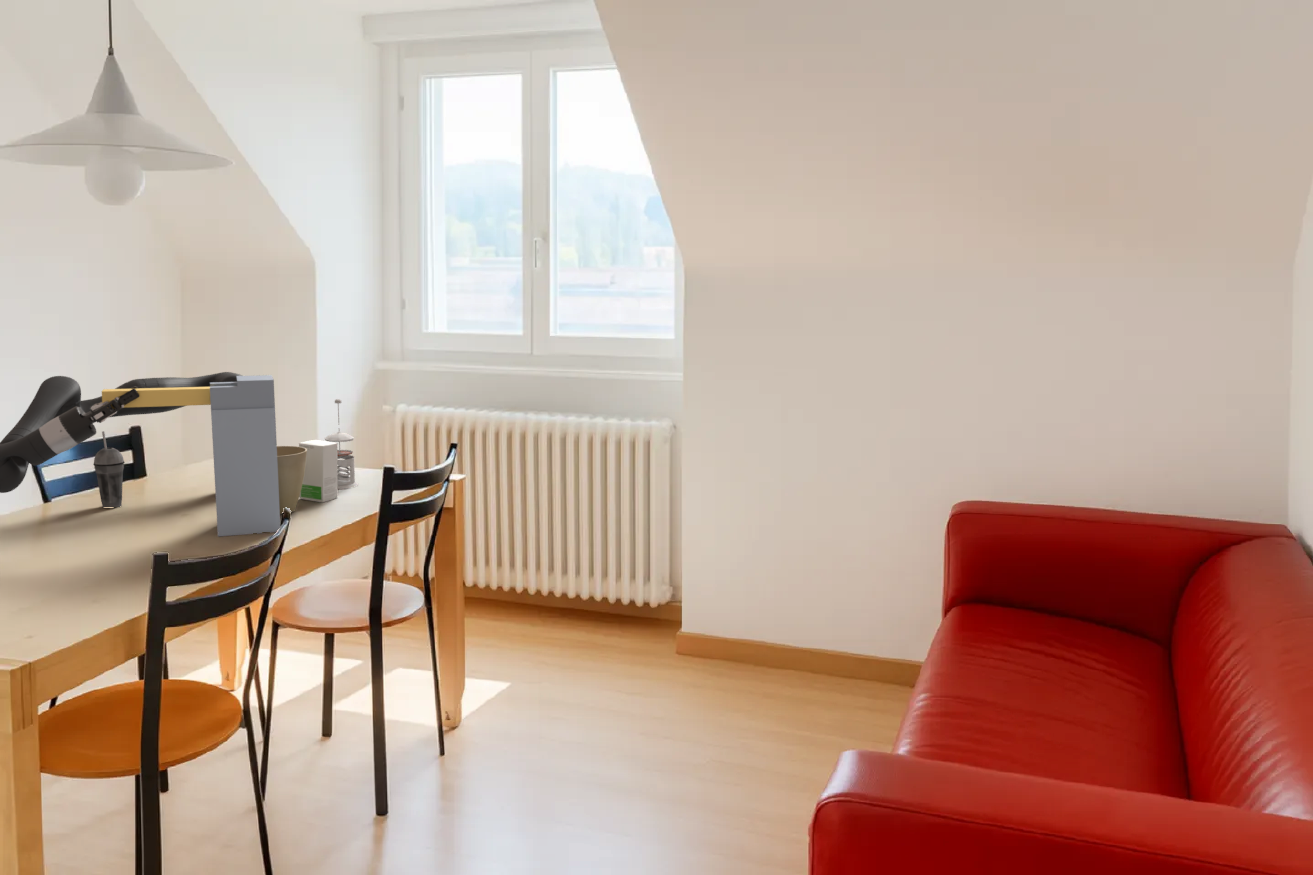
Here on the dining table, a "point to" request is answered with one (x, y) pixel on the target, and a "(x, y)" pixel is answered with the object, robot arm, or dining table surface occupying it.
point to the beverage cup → (109, 475)
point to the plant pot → (290, 475)
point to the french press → (343, 479)
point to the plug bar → (163, 396)
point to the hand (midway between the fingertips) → (137, 391)
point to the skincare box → (320, 471)
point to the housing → (245, 455)
